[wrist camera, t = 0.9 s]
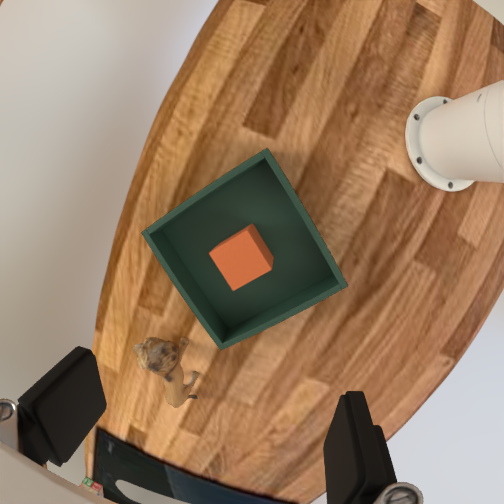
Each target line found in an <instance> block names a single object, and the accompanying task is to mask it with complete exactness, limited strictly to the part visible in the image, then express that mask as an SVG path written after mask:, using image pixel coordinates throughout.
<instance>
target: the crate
mask: <svg viewBox="0 0 504 504" xmlns="http://www.w3.org/2000/svg"><path fill="white" fill-rule="evenodd" d="M252 223H253V224H254V226H255V228H256V229H257V231H258V233H259V234H260V236H261V237H262V239H263V241H264V242H265V244H266V245H267V247H268V249H269V250H270V252H271V254H272V255H273V257H274V260H273V265H272V270H270V271H268V272H267V273H265V274H263V275H261V276H259V277H258V278H256V279H254V280H252V281H250V282H249V283H247V284H245V285H243V286H241V287H240V288H238V289H236V290H234V291H233V290H232V288H231V287H230V285H229V284H228V282H227V281H226V279H225V278H224V276H223V275H222V273H221V272H220V270H219V268H218V267H217V265H216V264H215V262H214V261H213V259H212V258H211V256H210V254H209V253H210V252H211V251H212V250H213V249H214V248H215V247H216V246H217V245H218V244H219V243H221V242H223V241H224V240H226V239H227V238H229V237H231V236H232V235H234V234H236V233H237V232H239V231H241V230H242V229H244V228H246V227H247V226H249V225H250V224H252ZM142 235H143V236H144V238H145V240H146V241H147V243H148V245H149V246H150V248H151V249H152V251H153V253H154V254H155V256H156V257H157V259H158V260H159V262H160V264H161V265H162V267H163V268H164V270H165V271H166V273H167V274H168V276H169V277H170V279H171V280H172V282H173V283H174V285H175V286H176V288H177V289H178V291H179V292H180V294H181V295H182V297H183V298H184V300H185V301H186V303H187V304H188V306H189V307H190V309H191V310H192V311H193V313H194V314H195V316H196V317H197V319H198V320H199V321H200V323H201V324H202V326H203V327H204V328H205V330H206V331H207V332H208V334H209V335H210V337H211V338H212V339H213V341H214V342H215V343H216V345H217V346H218V347H219V349H220V350H223V349H225V348H227V347H229V346H232V345H234V344H236V343H238V342H240V341H242V340H244V339H247V338H249V337H251V336H253V335H255V334H257V333H259V332H261V331H263V330H265V329H267V328H269V327H271V326H273V325H275V324H278V323H280V322H282V321H283V320H285V319H287V318H289V317H291V316H293V315H295V314H297V313H299V312H301V311H303V310H305V309H307V308H309V307H311V306H313V305H314V304H316V303H318V302H320V301H322V300H324V299H326V298H327V297H329V296H331V295H333V294H335V293H337V292H338V291H340V290H342V289H344V288H345V287H347V286H348V285H347V283H346V281H345V279H344V277H343V275H342V273H341V271H340V270H339V268H338V266H337V264H336V262H335V260H334V258H333V257H332V255H331V253H330V251H329V249H328V248H327V246H326V244H325V242H324V240H323V239H322V237H321V235H320V233H319V232H318V230H317V228H316V226H315V225H314V223H313V221H312V220H311V218H310V216H309V214H308V213H307V211H306V209H305V208H304V206H303V204H302V202H301V201H300V199H299V197H298V196H297V194H296V192H295V191H294V189H293V188H292V186H291V184H290V183H289V181H288V179H287V178H286V176H285V175H284V173H283V171H282V170H281V168H280V167H279V165H278V163H277V162H276V160H275V159H274V157H273V155H272V154H271V152H270V151H269V149H268V148H266V149H264V150H263V151H262V152H260V153H258V154H256V155H255V156H253V157H251V158H250V159H248V160H247V161H245V162H243V163H242V164H240V165H239V166H237V167H236V168H234V169H232V170H231V171H229V172H228V173H226V174H225V175H223V176H222V177H220V178H219V179H217V180H215V181H214V182H212V183H211V184H209V185H208V186H206V187H205V188H203V189H202V190H201V191H199V192H198V193H196V194H195V195H193V196H192V197H190V198H189V199H187V200H186V201H184V202H183V203H182V204H180V205H179V206H177V207H176V208H174V209H173V210H172V211H170V212H169V213H167V214H166V215H165V216H163V217H162V218H161V219H159V220H158V221H156V222H155V223H154V224H152V225H151V226H150V227H148V228H147V229H145V230H144V231H143V232H142Z"/></svg>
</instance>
